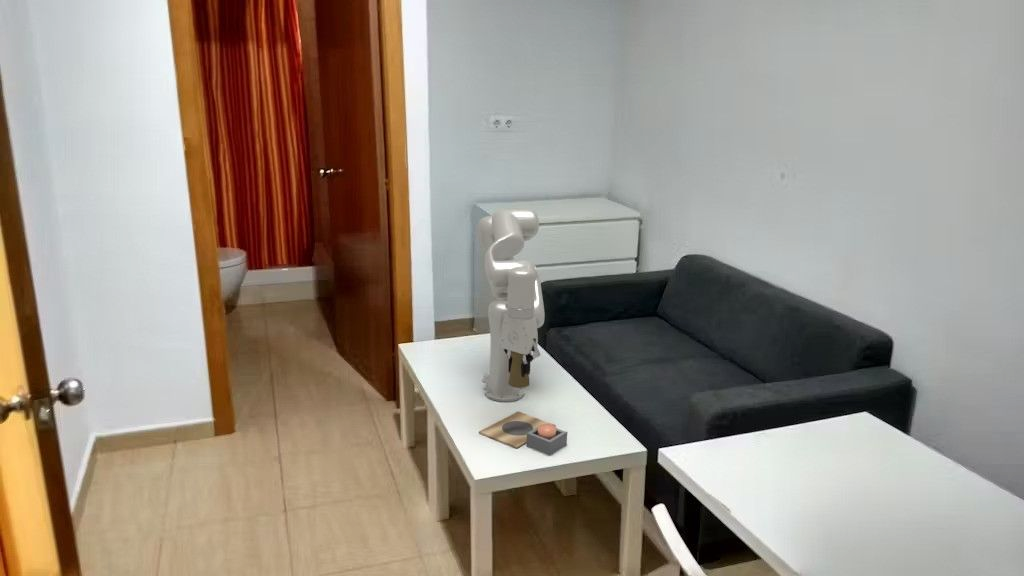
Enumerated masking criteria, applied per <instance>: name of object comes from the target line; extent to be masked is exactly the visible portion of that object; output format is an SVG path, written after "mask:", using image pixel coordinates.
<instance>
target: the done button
mask: <svg viewBox="0 0 1024 576" xmlns="http://www.w3.org/2000/svg"><path fill="white" fill-rule="evenodd" d="M552 424H553V423H551V424H541V425H539V427H538V436H541V437H543V438H546V439H548V440H550V439H552V438H553V437H555V436H556V428H557V427H556V426H557V425H555V424H554V425H555V426H554V425H552Z"/></svg>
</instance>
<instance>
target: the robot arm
mask: <svg viewBox="0 0 1024 576" xmlns="http://www.w3.org/2000/svg"><path fill="white" fill-rule="evenodd" d="M539 222H540V221H539V217H538V214H537V212H536V211H535V210H534V209H533V208H502V209H499V210H497V211H495V212H494V213H493V215H486V216H484V217H482V218H480V220H479V222H478V226H477V231H478V233H477V234H478V239H479V243H480V247H481V248H482V251H483V254H484V270H485V275H486V276H485V277H486V280H487V283H488V285H489V288H490V291H491V295H492V296H493V297H495V298H497V299H495V300H493V301H492V302H491V303H490V304H489V305H488V308H487V309H488V310H487V315H488V322H489V331H490V333H489V334H490V353H489V355H490V358H489V359H490V362H489V363H490V364H489V365H490V366H489V374H488V373H486V374H484V375H483V378H482V379H481V382H482V383H484V384H486V385H487V387H485V390H484V396H486V397H487V398H488V399H490V400H493V401H496V402H503V403H505V402H507V403H509V402H515V401H518V400H520V399H522V398H523V397H524V396H525V390H524V388H515V387H512V386H510V385H509V384H508V383H509V376H510V370H511V364H512V357H511V351H512V352H516V353H519V354H522V355H523V363H522V364H521V376H522V377H524V376H525V373H526V374H528V375H529V376H530V374H531V363H532V362H533V361H534V360H535V359H537V358H539V357H540V356H541V353H540V350H539V347H538V346H539V345H538V342H539V340H538V339H539V338H538V337H539V336H538V335H539V334H538V329H539V328H541V327H543V325H544V323H545V316H546V315H545V306H544V305H545V304H544V299H543V293H542V290H543V289H542V285H541V278H540V275H539V273H538V269H537V266H536V265H535V263H534V262H533V261H531V260H525V259H524V260H523V259H522V260H520V259H519V260H516V259H514V256H517V255H519V254H520V253H521V252H522V251H523V249H524V248H525V247H524V246H525V242H529V241H530V240H532V239H533V238H534V237H535V236H536V235H537V234H538V232H539V228H540V223H539ZM527 355H528V358H527Z"/></svg>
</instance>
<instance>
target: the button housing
mask: <svg viewBox="0 0 1024 576" xmlns="http://www.w3.org/2000/svg"><path fill="white" fill-rule="evenodd" d="M567 444H568V432H567V431H566V430H562V429H561V428H557V427H556V436H555V437H553V438H552V439H550V440H548V439H546V438H543V437H541V436H538V427H537V428H535V429H534V430H532V431H530V432H528V433H527V442H526V444H525V445H526V447H527V448H529V449H533V450H534V451H537V452H538V453H539V452H540V453H542V454H543V455H547V456H553V454H555V453H556V452H558V451H560V450H561V449H563V448H564V447H567Z"/></svg>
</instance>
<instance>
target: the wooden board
mask: <svg viewBox="0 0 1024 576" xmlns="http://www.w3.org/2000/svg"><path fill="white" fill-rule="evenodd" d="M541 424H552V425H554V426H556V424H554V423H551V422H548V421H546V420H543V419H540V418H538V417H535V416H532V415H529V414H526V413H523V412H521V411H519V410H518V411H516V412H514V413H511V414H510V415H508V416H506V417H504V418H503V419H501V420H499V421H496V422H495V423H493V424H490V425H489V426H487V427H485V428H483V429H481V430H479V431H478V434H479V435H482V436H484V437H486V438H489V439H491V440H493V441H495V442H499V443H501V444H504V445H506V446H509V447H511V448H514V449H515V450H518V449H520V448H521V447H523V446H525V445H526V442H527V433H528V432H530V431H532V430H534V429H535V428H537V427H539V425H541Z"/></svg>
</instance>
